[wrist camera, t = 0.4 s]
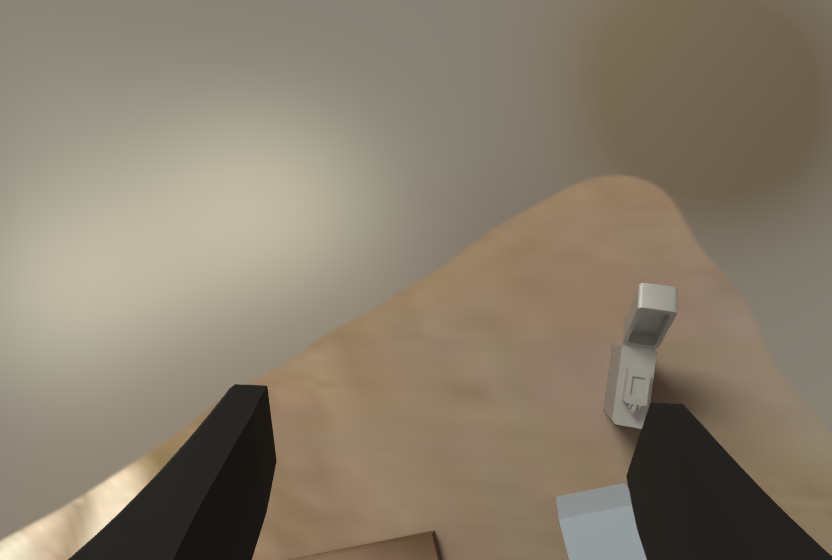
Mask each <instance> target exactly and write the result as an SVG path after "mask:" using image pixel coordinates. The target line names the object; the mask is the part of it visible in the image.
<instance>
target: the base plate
mask: <svg viewBox="0 0 832 560" xmlns="http://www.w3.org/2000/svg"><path fill="white" fill-rule="evenodd" d="M290 560H441V558H440V554H439V549H438V545H437V541H436V537H435V533H434V531H430V532H425V533H420V534H415V535H410V536H405V537H400V538H395V539H390V540H385V541H380V542H375V543H370V544H365V545H360V546H355V547H350V548H345V549H340V550H335V551H330V552H325V553H320V554H315V555H310V556H305V557H300V558H295V559H290Z"/></svg>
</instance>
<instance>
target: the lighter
mask: <svg viewBox="0 0 832 560" xmlns="http://www.w3.org/2000/svg"><path fill="white" fill-rule="evenodd" d="M676 315H677V288H675V287H672V286H664V285H657V284H649V283H641V284H639V285H638V288H637V290H636V292H635V295H634V297H633V300H632V302H631V305H630V307H629V310H628V312H627V315H626V317H625V320H624V333H623V343H624V344H621V343H614V344H613V345H612V349H611V357H610V364H609V372H608V379H607V387H606V394H605V402H604V409H603V410H604V412H605V413H606V414H607V415H608V417H609V418H610V419H611V420H612V421H613V422H614V424H616V425H622V426H628V427H633V428H639V429H642V427H643V423H644V420H645V417H646V414H647V411H648V408H649V405H650V402H651V395H652V387H653V379H654V371H655V364H656V356H657V352H656V350H655V349H656V348H658V347H659V346H660V344H661V342H662V340H663V338H664V336H665V335H666V333H667V331H668V329H669V327H670V326H671V324H672V322H673V320H674V318H675V317H676Z"/></svg>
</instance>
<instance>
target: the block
mask: <svg viewBox="0 0 832 560" xmlns="http://www.w3.org/2000/svg"><path fill="white" fill-rule="evenodd" d="M556 501H557V510H558V518H559V522H560V526H561V530H562V534H563V538H564V541H565V545H566V549H567V553H568V557H569V560H647V559H646V556H645V552H644V549H643V546H642V543H641V540H640V537H639V534H638V531H637V527H636V522H635V517H634V513H633V508H632V503H631V498H630V492H629V488H628V487H627V485H626V483H622V484H617V485H612V486H607V487H602V488H597V489H593V490H588V491H583V492H578V493H573V494H568V495H563V496H558V497H556Z"/></svg>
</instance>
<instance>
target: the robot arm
mask: <svg viewBox="0 0 832 560" xmlns="http://www.w3.org/2000/svg"><path fill="white" fill-rule="evenodd" d="M275 465H276V453H275V445H274V437H273V429H272V421H271V413H270V405H269V397H268V389H267V386H259V385H236V384H235V385H234V386H232V387H231V388H230V389H229V390H228V391H227V393H226V394H225V395H224V397H223V398H222V399H221V400H220V402H219V403H218V404H217V405H216V407H215V408H214V409H213V410H212V412H211V413H210V414H209V415H208V416H207V418H206V419H205V420H204V421H203V423H202V424H201V425H200V426H199V427H198V429H197V430H196V431H195V432H194V433H193V434H192V436H191V437H190V438H189V439H188V440H187V442H186V443H185V444H184V445H183V446H182V447H181V448H180V449H179V451H178V452H177V453H176V454H175V455H174V456H173V457H172V458H171V459H170V461H169V462H168V463H167V464H166V465H165V466H164V467H163V468H162V470H161V471H160V472H159V473H158V474H157V475H156V476H155V477H154V478H153V479H152V480H151V481H150V482H149V483H148V484H147V485H146V486H145V487H144V488H143V489H142V490H141V491H140V493H139V494H138V495H137V496H136V497H135V498H134V499H133V500H132V501H131V502H130V503H129V504H128V505H127V506H126V507H125V508H124V509H123V510H122V511H121V512H120V513H119V514H118V515H117V516H116V517H115V518H114V519H113V520H111V521H110V522H109V523H108V524H107V525H106V526H105V527H104V528H103V529H102V530H101V531H100V532H99V533H98V534H97V535H95V536H94V537H93V538H92V539H91V540H90V541H89V542H88V543H86V544H85V545H84V546H83V547H82V548H81V549H80V550H79V551H77V552H76V553H75V554H74V555H73V556H72V557H71V558H69V559H68V560H252V557H253V554H254V550H255V547H256V544H257V541H258V538H259V534H260V531H261V528H262V525H263V522H264V518H265V515H266V512H267V507H268V502H269V497H270V492H271V487H272V481H273V476H274V471H275ZM627 481H628V487H629V492H630V498H631V503H632V508H633V513H634V517H635V522H636V527H637V531H638V534H639V537H640V540H641V543H642V546H643V549H644V552H645V556H646V559H647V560H832V556H831V555H830V554H829V553H827V552H826V551H825V550H824V549H823V548H822V547H821V546H820V545H819V544H818V543H817V542H816V541H815V540H813V539H812V538H811V537H810V536H809V535H808V534H807V533H806V532H805V531H804V530H803V529H802V528H801V527H800V526H799V525H798V524H796V523H795V522H794V521H793V520H792V519H791V518H790V517H789V516H788V515H787V514H786V513H785V512H784V511H783V510H782V509H781V508H780V507H779V506H778V505H777V504H776V503H775V502H774V501H773V500H772V499H771V498H770V497H769V496H768V495H767V494H766V493H765V492H764V491H763V490H762V489H761V488H760V487H759V486H758V485H757V484H756V483H755V482H754V480H753V479H752V478H751V477H750V476H749V475H748V474H747V473H746V472H745V471H744V470H743V469H742V468H741V467H740V466H739V465H738V464H737V463H736V461H735V460H734V459H733V458H732V457H731V456H730V455H729V454H728V453H727V452H726V451H725V450H724V448H723V447H722V446H721V445H720V444H719V443H718V442H717V441H716V440H715V439H714V438H713V436H712V435H711V434H710V433H709V432H708V431H707V430H706V429H705V428H704V427H703V425H702V424H701V423H700V422H699V421H698V420H697V419H696V418H695V417H694V416H693V415H692V413H691V412H690V411H689V410H688V409H687V408H686V407H685V406H684V405H683V404H668V403H650V405H649V408H648V411H647V414H646V417H645V420H644V423H643V427H642V430H641V433H640V436H639V439H638V442H637V445H636V448H635V451H634V455H633V458H632V461H631V464H630V467H629V470H628V473H627Z"/></svg>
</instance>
